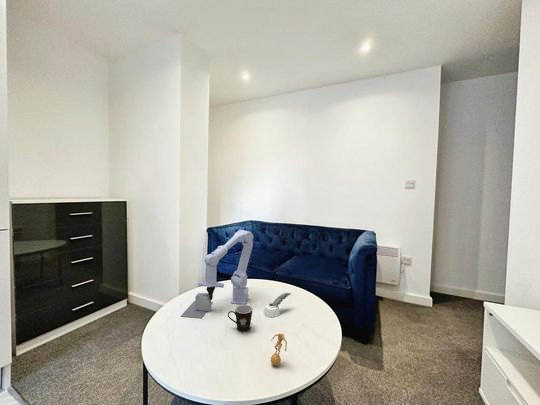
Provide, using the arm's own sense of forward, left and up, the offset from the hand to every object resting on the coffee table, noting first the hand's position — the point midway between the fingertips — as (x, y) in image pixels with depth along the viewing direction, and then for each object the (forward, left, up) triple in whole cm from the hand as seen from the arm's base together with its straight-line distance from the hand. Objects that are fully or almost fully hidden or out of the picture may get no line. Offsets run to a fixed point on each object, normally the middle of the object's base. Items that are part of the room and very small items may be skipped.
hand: (210, 299), depth 135 cm
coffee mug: (-21, +14, -7) cm, 26 cm away
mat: (+8, 0, -7) cm, 10 cm away
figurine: (-41, +36, -7) cm, 55 cm away
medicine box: (+4, 0, -7) cm, 8 cm away
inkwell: (-38, -5, -7) cm, 39 cm away
